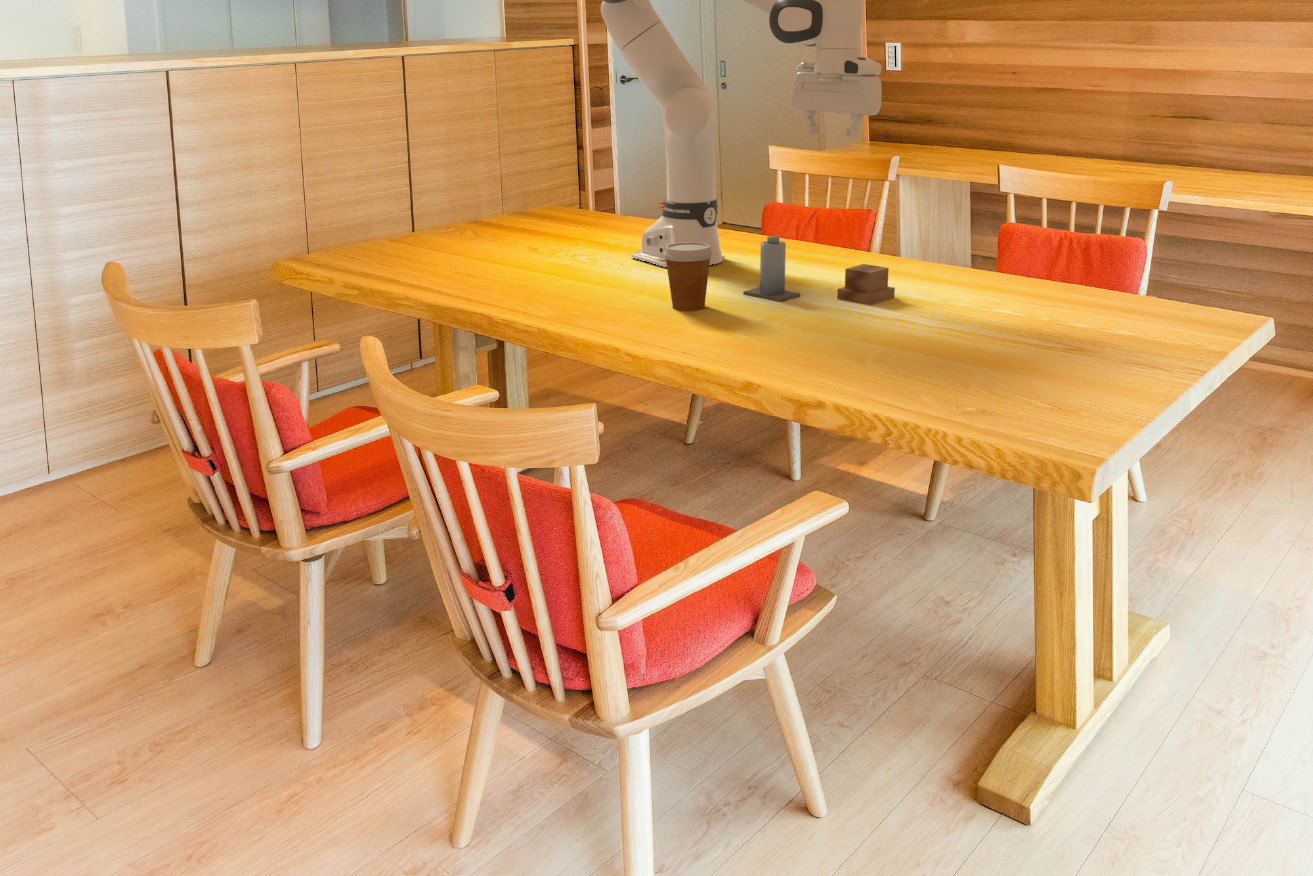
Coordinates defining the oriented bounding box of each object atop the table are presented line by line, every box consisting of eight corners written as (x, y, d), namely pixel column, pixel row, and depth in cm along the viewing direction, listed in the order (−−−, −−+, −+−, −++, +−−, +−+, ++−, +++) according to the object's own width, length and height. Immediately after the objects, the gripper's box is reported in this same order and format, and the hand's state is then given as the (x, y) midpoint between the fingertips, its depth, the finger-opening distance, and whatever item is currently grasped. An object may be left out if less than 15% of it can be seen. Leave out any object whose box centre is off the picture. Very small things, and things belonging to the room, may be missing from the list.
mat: (743, 294, 232) (743, 291, 232) (762, 289, 236) (762, 286, 236) (781, 301, 226) (781, 298, 225) (800, 296, 229) (800, 293, 229)
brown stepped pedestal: (837, 298, 227) (838, 268, 225) (861, 291, 232) (862, 262, 230) (870, 304, 221) (871, 274, 219) (894, 297, 226) (895, 267, 224)
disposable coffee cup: (662, 302, 227) (660, 242, 223) (709, 300, 228) (708, 240, 224) (667, 314, 218) (665, 251, 214) (716, 311, 219) (715, 249, 215)
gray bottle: (754, 292, 231) (755, 237, 227) (770, 288, 234) (771, 233, 230) (773, 296, 227) (775, 240, 223) (789, 291, 231) (791, 236, 227)
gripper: (786, 62, 229) (782, 132, 234) (869, 65, 216) (863, 140, 221) (805, 61, 234) (801, 131, 238) (888, 65, 220) (882, 139, 225)
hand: (832, 135), depth 229 cm, fingers open, 8 cm apart
